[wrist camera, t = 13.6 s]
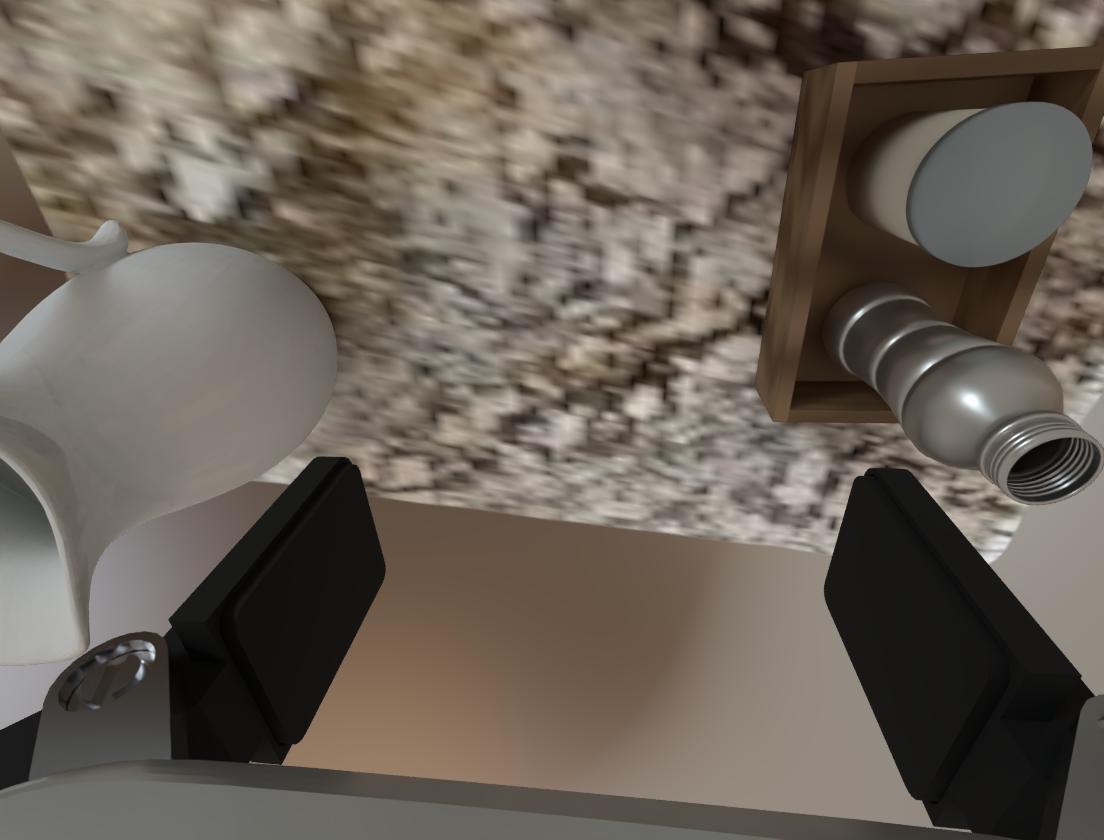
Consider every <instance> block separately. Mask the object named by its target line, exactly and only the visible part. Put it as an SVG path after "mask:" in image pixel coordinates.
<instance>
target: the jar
mask: <svg viewBox="0 0 1104 840" xmlns="http://www.w3.org/2000/svg"><path fill="white" fill-rule="evenodd" d="M1092 157H1093V153H1092V143H1091V140H1090V136H1089V133H1088V131H1087V129H1086V127H1085V125H1084V124H1083V123H1082V121H1081V120H1080V119H1079V118H1078V117H1077V116H1076V115H1075V114H1074V113H1072V112H1071V111H1069V110H1067V109H1066V108H1064V107H1061V106H1058V105H1056V104H1052V103H1046V102H1019V103H1008V104H1001V105H997V106H993V107H990V108H987V109H963V110H937V111H916V112H909V113H906V114H902V115H899V116H897V117H894V118H892V119H890V120H889V121H887V122H885V123H884V124H882V125H881V126H879V127H878V128H877V129H875V130H874V131H873V132H872V133H871V134H870V135H869V136H868V137H867V138H866V139H865V140H864V142H863V143H862V144H861V145H860V147H859V148H858V150H857V151H856V153H855V155H854V157H853V159H852V161H851V163H850V166H849V168H848V172H847V177H846V197H847V201H848V204H849V206H850V208H851V210H852V212H853V213H854V215H855V216H856V217H857V218H858V219H859V220H861V221H862V222H863V223H865V224H867V225H869V226H872V227H874V228H876V229H879V230H881V231H884V232H886V233H889V234H891V235H894V236H896V237H898V238H901V239H903V240H906V241H908V242H911V243H913V244H916V245H918V246H920V247H921V248H922V249H923V250H924V251H926V252H927V253H928V254H930V255H932V256H934V257H936V258H938V259H941V260H943V261H946V262H948V263H951V264H954V265H958V266H963V267H985V266H991V265H996V264H999V263H1003V262H1006V261H1009V260H1011V259H1013V258H1016V257H1018V256H1020V255H1022V254H1024V253H1026V252H1028V251H1029V250H1031V249H1033V248H1034V247H1036V246H1037V245H1039V244H1040V243H1041V242H1043V241H1044V240H1045V239H1047V238H1048V237H1049V236H1050V235H1051V234H1052V233H1053V232H1055V231H1056V230H1057V229H1058V228H1059V227H1060V226H1061V224H1062V223H1063V222H1064V221H1065V220H1066V219H1067V218H1068V216H1069V215H1070V214H1071V212H1072V211H1073V210H1074V208H1075V207H1076V205H1077V203H1078V202H1079V200H1080V198H1081V196H1082V194H1083V192H1084V190H1085V188H1086V185H1087V182H1088V180H1089V177H1090V172H1091V167H1092Z"/></svg>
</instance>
